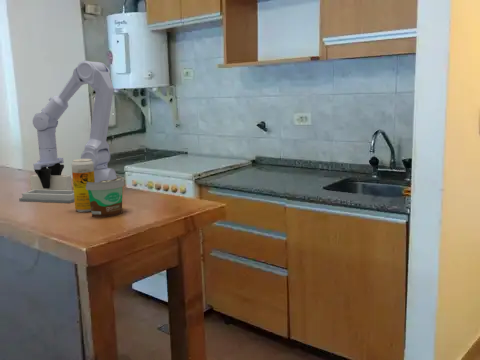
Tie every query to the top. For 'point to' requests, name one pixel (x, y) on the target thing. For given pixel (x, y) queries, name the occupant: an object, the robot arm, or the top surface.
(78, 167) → the beer can
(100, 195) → the food container
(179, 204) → the top surface
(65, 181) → the long cream rectangular block
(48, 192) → the stepped grey tray
